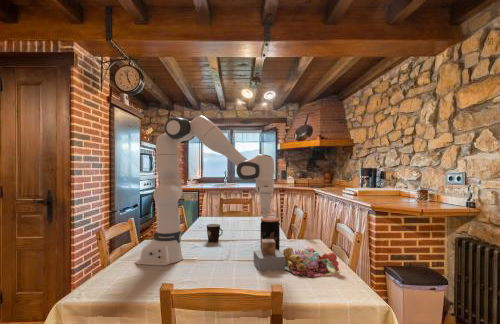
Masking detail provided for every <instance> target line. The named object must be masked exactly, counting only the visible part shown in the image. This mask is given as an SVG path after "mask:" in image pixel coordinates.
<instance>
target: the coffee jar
mask: <svg viewBox="0 0 500 324" xmlns="http://www.w3.org/2000/svg"><path fill="white" fill-rule="evenodd" d="M280 220H281V219H280V218H279V217H275V216H267V218H263V217H261V218H260V240H261V239H274V241H275V242H276V249H277V250H278V251H279V252H280V245H281V244H280V241H281V240H280V239H281V238H280V232H281V231H280V224H281V223H280Z"/></svg>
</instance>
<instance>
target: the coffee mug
mask: <svg viewBox="0 0 500 324" xmlns="http://www.w3.org/2000/svg"><path fill="white" fill-rule="evenodd" d="M206 233H207V241H208V243H217V242H219V239H220V237H221V236H222V235H223V233H224V231H223V228H221V224H219V223H209V224H206Z"/></svg>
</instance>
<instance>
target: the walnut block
mask: <svg viewBox="0 0 500 324" xmlns="http://www.w3.org/2000/svg"><path fill="white" fill-rule="evenodd" d="M275 249H276V242H275V241H274V239H261V238H260V250H261V252H262V255H275Z"/></svg>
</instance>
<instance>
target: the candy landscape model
mask: <svg viewBox="0 0 500 324" xmlns="http://www.w3.org/2000/svg"><path fill="white" fill-rule="evenodd" d="M282 252H283V253H282V255H284V256H285V269H284V270H287V271H288V272H290V273H292V274H293V275H300V277H302V276H307V278H314V277H315V278H316V277H317V278H318V277H320V276H321V277H333V276H338V275H339V274H340V268H339V264H340V263H339V262H338V260H337V259H338V256H337V254H336V253H335V252H329V253H328V254H327V253H326V252H325V253H323V254H322V255H320V253H319V252H318V251H317V250H315V248H314V247H309V246H307V247H304V248H303V249H302V250H301V249H299V248H298V249H295V250H294V248H292V247H290V246H287V247H286V248H285V249H283V251H282Z"/></svg>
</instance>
